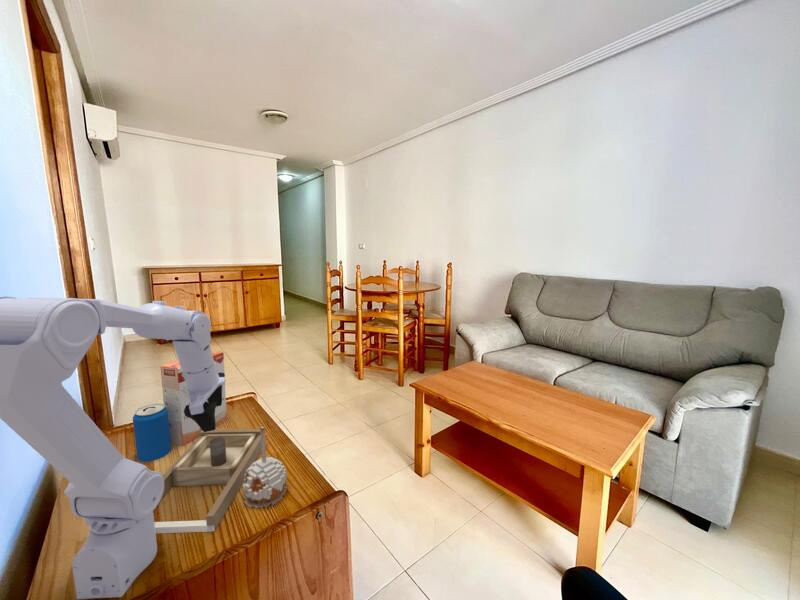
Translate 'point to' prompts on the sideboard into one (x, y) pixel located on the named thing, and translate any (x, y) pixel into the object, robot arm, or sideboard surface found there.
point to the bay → (225, 496)
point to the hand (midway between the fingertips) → (213, 417)
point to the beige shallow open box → (212, 459)
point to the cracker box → (186, 401)
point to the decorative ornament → (264, 480)
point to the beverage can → (151, 432)
